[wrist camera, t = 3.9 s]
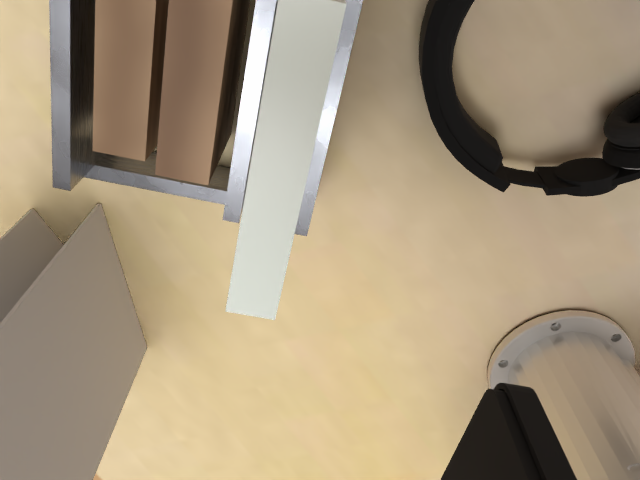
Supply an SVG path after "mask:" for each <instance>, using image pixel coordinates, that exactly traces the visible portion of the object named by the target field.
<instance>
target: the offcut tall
mask: <svg viewBox="0 0 640 480" xmlns="http://www.w3.org/2000/svg"><path fill="white" fill-rule="evenodd" d="M249 6H250V0H169V5H168V17H167V30H166V42H165V55H164V68H163V80H162V93H161V105H160V118H159V130H158V143H157V156H156V168H155V175H158V176H163V177H168V178H173V179H178V180H183V181H188V182H193V183H198V184H203V185H209V183H210V180H211V178H212V176H213V174H214V171H215V169H216V167H217V164H218V162H219V160H220V158H221V155H222V153H223V151H224V149H225V146H226V144H227V142H228V139H229V137H230V135H231V129H232V122H233V115H234V108H235V101H236V95H237V88H238V81H239V74H240V67H241V60H242V54H243V47H244V40H245V33H246V26H247V19H248V13H249Z"/></svg>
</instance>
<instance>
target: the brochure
mask: <svg viewBox="0 0 640 480" xmlns="http://www.w3.org/2000/svg"><path fill="white" fill-rule="evenodd" d="M146 349H147V345H146V342H145V339H144V335H143V332H142V329H141V326H140V323H139V320H138V317H137V314H136V311H135V307H134V304H133V301H132V298H131V295H130V292H129V289H128V286H127V283H126V280H125V276H124V273H123V270H122V267H121V264H120V261H119V258H118V255H117V252H116V248H115V245H114V242H113V239H112V236H111V233H110V230H109V227H108V224H107V220H106V217H105V214H104V211H103V208H102V205H101V203H99V204H97V205H96V206H95V207H94V208H93V210H92V211H91V212H90V213H89V214H88V216H87V217H86V218H85V219H84V221H83V222H82V223H81V224H80V226H79V227H78V228H77V229H76V231H75V232H74V233H73V234H72V235H71V237H70V238H69V239H68V240H67V242H66V243H65V244H64V245H63V244H62V242H61V241H60V240H59V239H58V237H57V236H56V235H55V234H54V233H53V231H52V230H51V229H50V228H49V226H48V225H47V224H46V223H45V222H44V220H43V219H42V218H41V217H40V215H39V214H38V213H37V212H36V211H35V209H34V208H33V209H30V210H29V211H28V212H27V213H26V214H25V215H24V216H23V217H22V218H21V219H20V220H19V221H18V222H17V223H16V224H15V225H14V226H13V227H12V228H11V229H10V230H9V231H8V232H6V233H5V234H4V235H3V236H2V237H1V238H0V480H93V478H94V476H95V473H96V471H97V468H98V466H99V464H100V461H101V459H102V456H103V454H104V451H105V449H106V447H107V444H108V442H109V439H110V437H111V434H112V432H113V430H114V427H115V425H116V422H117V420H118V417H119V415H120V413H121V410H122V408H123V405H124V403H125V400H126V398H127V396H128V393H129V391H130V388H131V386H132V383H133V381H134V379H135V376H136V374H137V371H138V369H139V366H140V364H141V362H142V359H143V357H144V354H145V352H146Z"/></svg>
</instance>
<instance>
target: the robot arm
mask: <svg viewBox="0 0 640 480" xmlns="http://www.w3.org/2000/svg"><path fill="white" fill-rule="evenodd" d="M634 366H635V350H634V348H633V345H632V342H631V340H630V339H629V338H628V336H627V335H626V333H625V332H624V331H623V330H622V328H621V327H620V326H619V325H618V324H617V323H615V322H614V321H612V320H611V319H609V318H608V317H605V316H602V315H600V314H597V313H593V312H588V311H577V310H568V311H560V312H553V313H550V314H546V315H543V316H539V317H537V318H535V319H532V320H530V321H528V322H526V323H524V324H523V325H521V326H519V327H518V328H516V329H515V330H513V331H512V332H511V333H510V334H509V335H508V336H506V337H505V338H504V339H503V340H502V342H501V343H500V344H499V345H498V346H497V348H496V349H495V351H494V353H493V355H492V357H491V359H490V362H489V366H488V373H487V379H488V383H489V388H490V389H488V390H486V392H485V393H484V395H483V397H482V399H481V401H480V403H479V405H478V407H477V409H476V411H475V413H474V415H473V417H472V419H471V421H470V423H469V425H468V427H467V429H466V431H465V433H464V435H463V437H462V438H461V440H460V442H459V444H458V446H457V448H456V450H455V452H454V454H453V456H452V458H451V460H450V462H449V464H448V466H447V468H446V470H445V472H444V474H443V476H442V478H441V480H640V375H639V374H638V373H637V371H636V370H635V368H634Z"/></svg>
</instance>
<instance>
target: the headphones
mask: <svg viewBox="0 0 640 480" xmlns="http://www.w3.org/2000/svg"><path fill="white" fill-rule="evenodd" d="M474 1H475V0H429V1H428V4H427V7H426V10H425V14H424V18H423V21H422V26H421V32H420V41H419V64H420V74H421V79H422V84H423V90H424V94H425V99H426V103H427V106H428V110H429V113H430V117H431V120H432V122H433V124H434V126H435V128H436V130H437V132H438V135H439V136H440V138H441V140H442V141H443V143H444V144H445V146H446V147H447V149H448V150H449V151H450V152H451V153H452V155H453V156H454V157H455V158H456V159H457V160H458V161H459V162H460V163H461V164H462V165H463V166H464V167H465V168H466V169H467V170H469V171H470V172H471V173H473V174H474V175H475V176H477V177H478V178H480V179H481V180H483V181H484V182H486V183H488V184H489V185H491V186H493V187H494V188H496V189H498V190H500V191H502V192H504V191H505V190H506V189H507V188H508V187H509V185H510V183H513V184H518V185H522V186H530V187H538V188H543V190H544V191H545V193H546V195H560V194H568V195H573V196H595V195H600V194H604V193H607V192H610V191H612V190H613V189H615V188H616V187H617V186H618V185H620V184H623V183H627V182H630V181H633V180H636V179H639V178H640V92H639V93H637V94H635V95H634V96H632V97H630V98H629V99H627V100H626V101H624V102H623V103H622V104H620V105H619V106H617V107H616V108H615V109H614V110H613V111H612V112H611V114H610V115H609V116H608V118H607V119H606V122H605V124H604V133H605V136H606V137H607V140H606V142H605V145H604V148H603V152H602V155H603V159H602V158H581V159H575V160H571V161H567V162H565V163H563V164H561V165H559V166H554V167H535V169H534V172H531V171H524V170H517V169H513V168H508V167H504V166H503V164H502V159H503V157H502V154H501V151H500V148H499V145H498V143H497V141H496V139H494V138H493V137H492V136H491V135H489V134H488V133H487V132H486V131H484V130H483V129H482V128H480V127H479V126H478V125H477V124H476V123H475V122H474V121H473V119H472V118H471V117H470V116H469V115H468V114H467V113H466V111H465V110H464V108H463V107H462V105H461V103H460V101H459V99H458V97H457V95H456V90H455V86H454V82H453V75H452V61H453V52H454V47H455V43H456V39H457V35H458V32H459V30H460V27H461V25H462V22H463V20H464V18H465V16H466V14H467V12H468V10H469V8H470V7H471V5H472V3H473V2H474Z"/></svg>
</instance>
